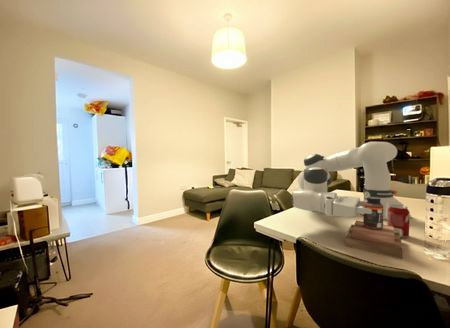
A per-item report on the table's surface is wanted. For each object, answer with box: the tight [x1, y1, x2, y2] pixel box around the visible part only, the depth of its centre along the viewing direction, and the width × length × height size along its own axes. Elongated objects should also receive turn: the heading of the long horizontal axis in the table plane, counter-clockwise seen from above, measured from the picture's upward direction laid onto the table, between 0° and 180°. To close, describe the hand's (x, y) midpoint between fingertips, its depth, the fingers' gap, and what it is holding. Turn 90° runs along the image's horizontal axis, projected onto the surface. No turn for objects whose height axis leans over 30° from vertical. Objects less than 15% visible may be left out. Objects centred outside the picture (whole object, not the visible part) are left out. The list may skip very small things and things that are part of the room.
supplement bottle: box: [362, 197, 384, 230], centre depth 78 cm, size 6×6×11 cm
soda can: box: [387, 204, 411, 239], centre depth 86 cm, size 7×7×12 cm
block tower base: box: [344, 220, 404, 259], centre depth 79 cm, size 16×16×6 cm
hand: (372, 208), depth 78 cm, fingers open, 8 cm apart
